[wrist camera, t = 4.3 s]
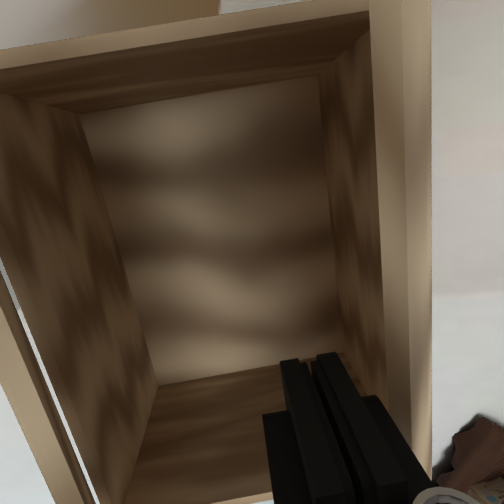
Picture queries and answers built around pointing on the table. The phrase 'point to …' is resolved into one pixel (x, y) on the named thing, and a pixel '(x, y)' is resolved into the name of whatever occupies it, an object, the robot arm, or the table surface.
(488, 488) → the potted plant
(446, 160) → the table surface
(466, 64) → the table surface
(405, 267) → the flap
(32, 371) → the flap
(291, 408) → the robot arm
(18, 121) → the carton
